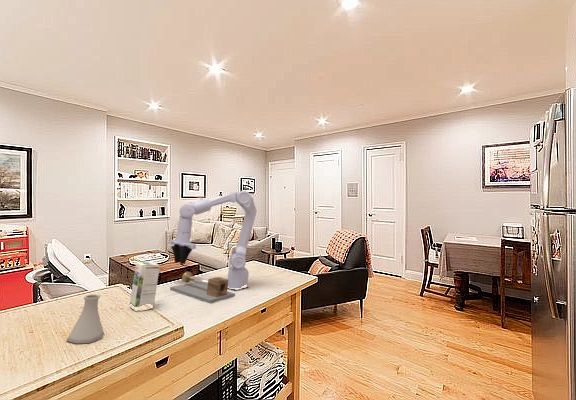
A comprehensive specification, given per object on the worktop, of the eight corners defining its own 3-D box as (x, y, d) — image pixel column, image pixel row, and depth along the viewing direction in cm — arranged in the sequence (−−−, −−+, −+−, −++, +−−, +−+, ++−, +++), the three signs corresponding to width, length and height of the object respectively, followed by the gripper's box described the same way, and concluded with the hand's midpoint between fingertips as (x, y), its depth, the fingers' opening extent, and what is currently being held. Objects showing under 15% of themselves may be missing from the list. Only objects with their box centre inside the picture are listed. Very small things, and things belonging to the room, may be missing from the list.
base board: (196, 284, 127) (196, 282, 127) (234, 296, 116) (235, 293, 116) (170, 289, 115) (170, 286, 115) (209, 303, 104) (210, 300, 104)
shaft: (189, 281, 123) (190, 271, 123) (218, 289, 115) (219, 278, 115) (181, 282, 119) (182, 272, 119) (210, 291, 111) (211, 280, 111)
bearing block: (217, 291, 116) (219, 276, 116) (226, 294, 113) (228, 279, 114) (206, 294, 111) (208, 278, 111) (216, 297, 108) (218, 281, 109)
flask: (79, 330, 72) (86, 290, 73) (109, 333, 73) (115, 293, 73) (59, 343, 65) (66, 298, 66) (92, 346, 65) (99, 301, 66)
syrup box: (128, 306, 92) (135, 261, 93) (147, 304, 96) (153, 261, 97) (134, 312, 88) (141, 265, 89) (154, 309, 92) (160, 264, 93)
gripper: (165, 229, 125) (161, 260, 124) (188, 233, 118) (183, 267, 117) (178, 230, 131) (174, 259, 130) (201, 234, 124) (197, 265, 123)
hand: (179, 263), depth 124 cm, fingers open, 3 cm apart
